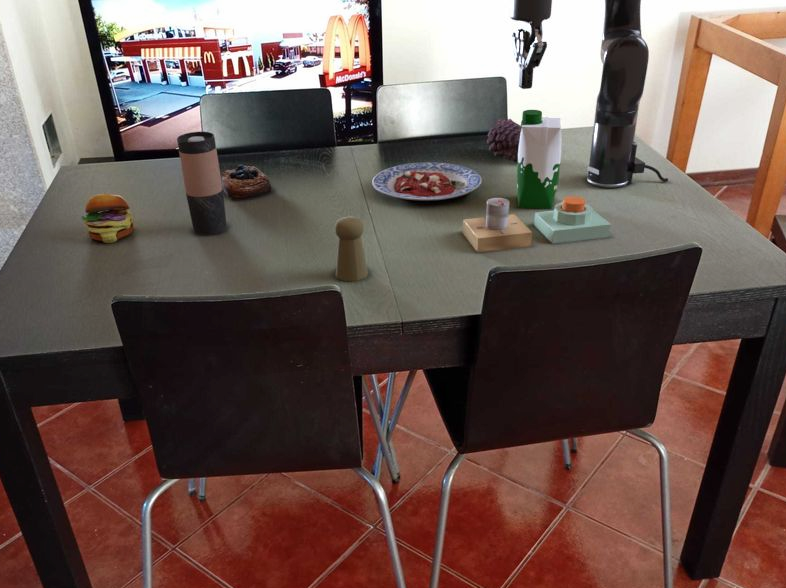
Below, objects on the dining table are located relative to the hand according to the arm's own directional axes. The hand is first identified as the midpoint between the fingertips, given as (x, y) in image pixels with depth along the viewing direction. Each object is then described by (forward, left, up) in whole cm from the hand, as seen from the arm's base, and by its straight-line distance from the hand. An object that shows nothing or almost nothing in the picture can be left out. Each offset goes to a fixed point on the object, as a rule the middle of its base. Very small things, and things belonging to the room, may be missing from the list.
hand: (525, 87), depth 149 cm
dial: (+8, +10, -24) cm, 27 cm away
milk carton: (-7, -7, -27) cm, 29 cm away
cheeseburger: (+86, -15, -27) cm, 91 cm away
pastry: (+56, -34, -27) cm, 71 cm away
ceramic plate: (+14, -23, -27) cm, 38 cm away
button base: (-8, +10, -27) cm, 30 cm away
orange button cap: (-8, +10, -22) cm, 26 cm away
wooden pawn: (+39, +18, -27) cm, 51 cm away
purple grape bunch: (-12, -40, -27) cm, 50 cm away
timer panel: (+8, +10, -27) cm, 30 cm away
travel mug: (+65, -12, -27) cm, 71 cm away
